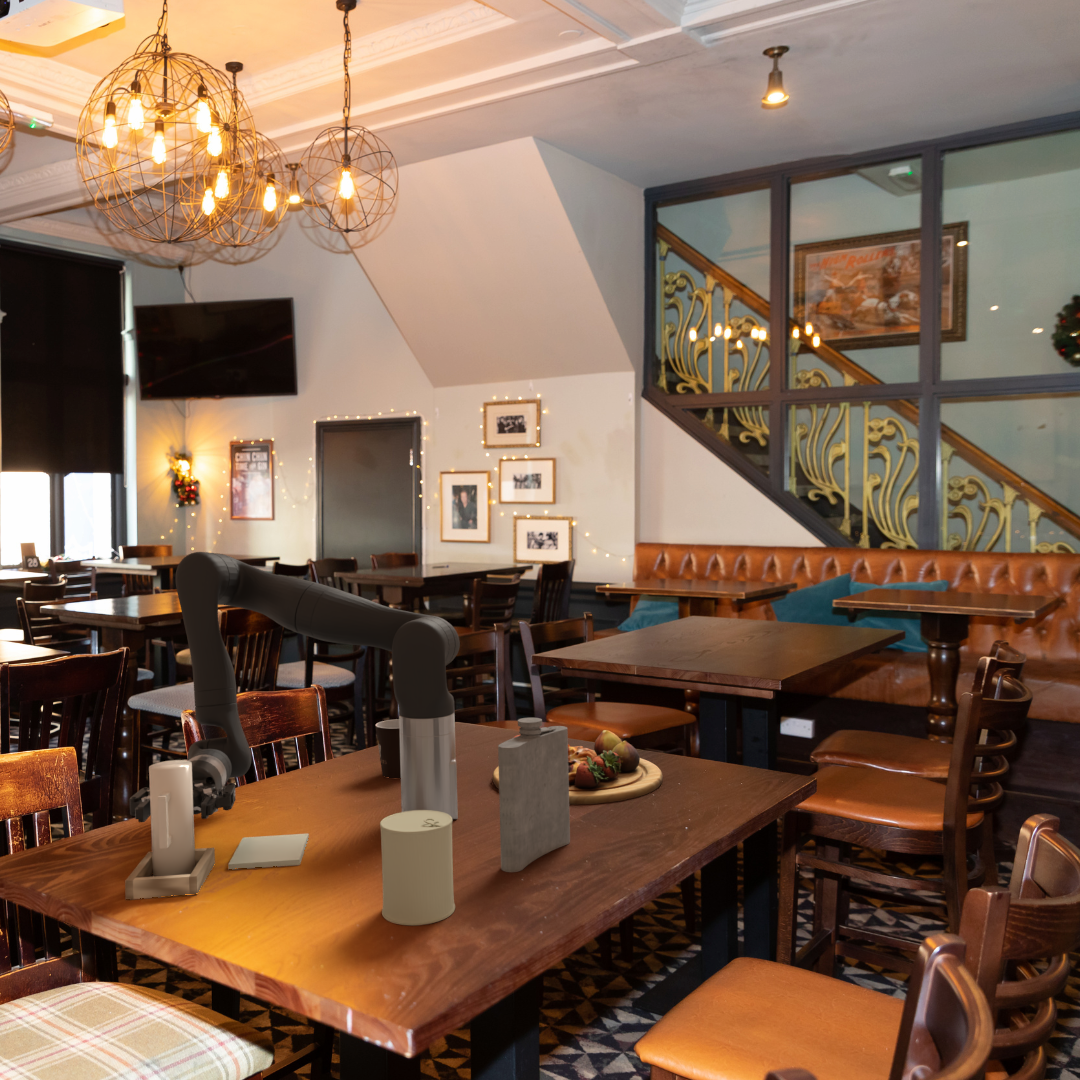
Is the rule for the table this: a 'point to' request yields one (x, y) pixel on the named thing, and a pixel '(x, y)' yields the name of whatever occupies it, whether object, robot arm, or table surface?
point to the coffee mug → (389, 747)
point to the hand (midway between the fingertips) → (172, 813)
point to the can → (417, 867)
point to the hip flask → (533, 793)
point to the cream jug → (172, 818)
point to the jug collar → (169, 878)
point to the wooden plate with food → (607, 772)
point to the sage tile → (269, 851)
